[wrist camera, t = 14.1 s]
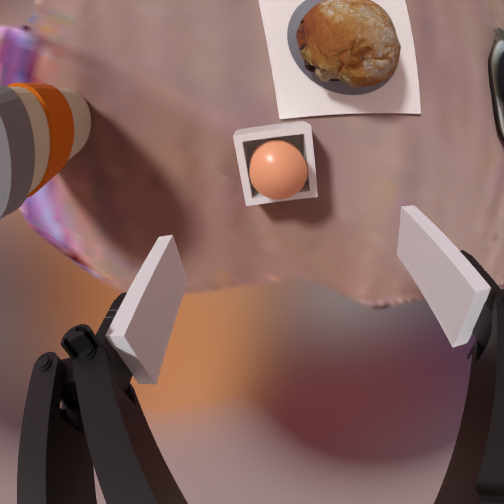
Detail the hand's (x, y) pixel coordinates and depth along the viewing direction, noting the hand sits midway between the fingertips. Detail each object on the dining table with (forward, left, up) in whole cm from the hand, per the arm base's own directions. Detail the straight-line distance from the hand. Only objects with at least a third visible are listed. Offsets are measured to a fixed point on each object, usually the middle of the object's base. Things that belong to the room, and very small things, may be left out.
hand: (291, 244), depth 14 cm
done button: (0, 0, -15) cm, 15 cm away
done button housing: (0, 0, -18) cm, 18 cm away
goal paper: (-12, +9, -18) cm, 24 cm away
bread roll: (-12, +9, -18) cm, 23 cm away
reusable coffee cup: (-10, -24, -19) cm, 32 cm away
